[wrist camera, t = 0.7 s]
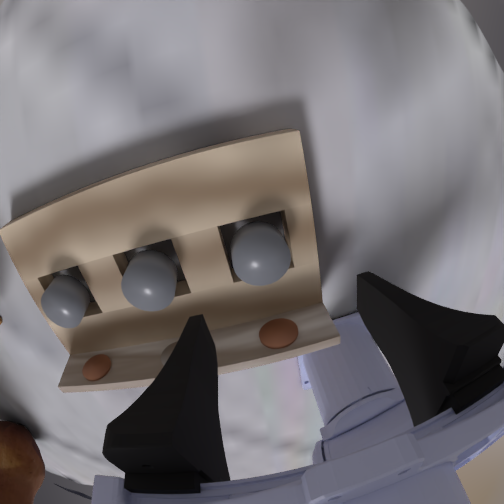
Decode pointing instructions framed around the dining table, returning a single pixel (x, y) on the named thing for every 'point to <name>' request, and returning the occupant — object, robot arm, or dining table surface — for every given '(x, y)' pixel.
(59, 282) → the button end
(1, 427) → the butternut squash
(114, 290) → the button board
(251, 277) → the button end
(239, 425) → the dining table surface
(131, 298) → the button middle
